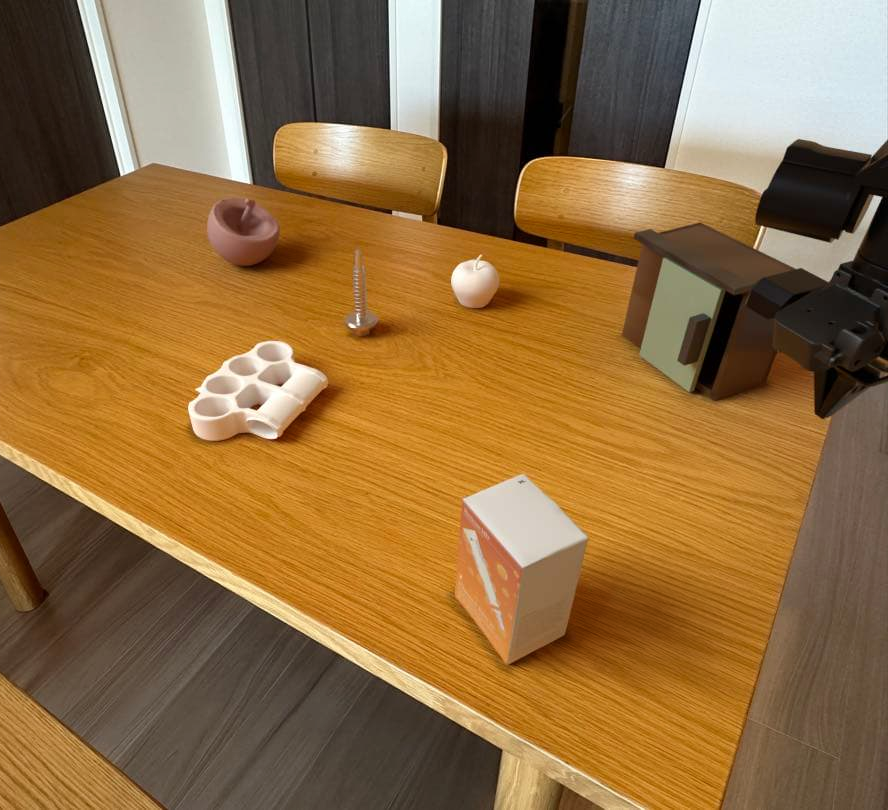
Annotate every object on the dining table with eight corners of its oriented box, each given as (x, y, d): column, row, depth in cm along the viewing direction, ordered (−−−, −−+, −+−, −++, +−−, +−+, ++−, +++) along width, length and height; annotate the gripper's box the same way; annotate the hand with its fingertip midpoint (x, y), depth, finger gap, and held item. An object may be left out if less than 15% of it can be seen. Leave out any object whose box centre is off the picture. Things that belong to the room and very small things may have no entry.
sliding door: (694, 390, 85) (726, 289, 76) (675, 396, 84) (706, 294, 75) (643, 353, 91) (668, 256, 83) (626, 359, 91) (649, 261, 82)
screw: (359, 319, 103) (385, 329, 100) (338, 334, 100) (364, 344, 97) (354, 238, 95) (383, 246, 92) (332, 251, 92) (360, 260, 89)
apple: (479, 319, 101) (483, 269, 96) (440, 304, 105) (442, 255, 100) (506, 300, 105) (511, 252, 100) (468, 286, 109) (471, 239, 104)
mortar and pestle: (266, 281, 114) (257, 215, 107) (201, 274, 117) (188, 209, 110) (293, 249, 123) (286, 186, 116) (232, 244, 126) (221, 182, 119)
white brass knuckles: (264, 461, 79) (166, 426, 85) (341, 378, 91) (251, 352, 97) (260, 439, 77) (160, 405, 83) (340, 357, 89) (247, 332, 95)
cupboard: (765, 383, 86) (810, 267, 76) (697, 406, 83) (736, 289, 73) (672, 323, 98) (701, 216, 88) (611, 340, 95) (634, 232, 85)
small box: (453, 597, 64) (459, 497, 55) (509, 570, 66) (524, 470, 57) (506, 668, 58) (522, 568, 50) (567, 636, 60) (592, 535, 52)
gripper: (724, 229, 57) (676, 380, 67) (946, 345, 44) (845, 513, 53) (827, 205, 60) (766, 353, 70) (1066, 307, 46) (949, 474, 56)
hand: (822, 415), depth 62 cm, fingers closed
